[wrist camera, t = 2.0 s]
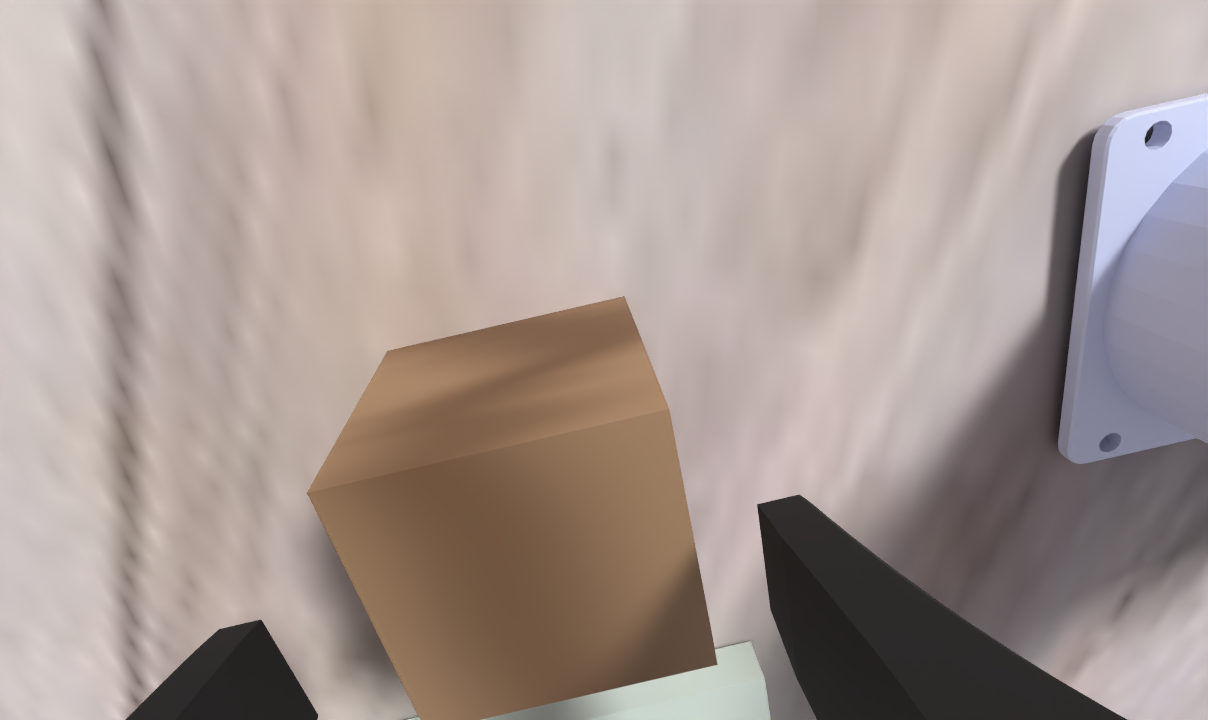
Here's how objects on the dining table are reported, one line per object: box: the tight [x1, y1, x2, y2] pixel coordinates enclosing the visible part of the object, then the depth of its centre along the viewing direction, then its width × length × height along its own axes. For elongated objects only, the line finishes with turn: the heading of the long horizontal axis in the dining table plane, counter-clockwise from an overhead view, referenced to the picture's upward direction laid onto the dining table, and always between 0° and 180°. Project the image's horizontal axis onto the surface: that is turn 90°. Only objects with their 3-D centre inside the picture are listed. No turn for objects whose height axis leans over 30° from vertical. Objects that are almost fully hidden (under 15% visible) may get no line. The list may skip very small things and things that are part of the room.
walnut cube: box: [307, 297, 718, 720], centre depth 12 cm, size 5×5×5 cm
